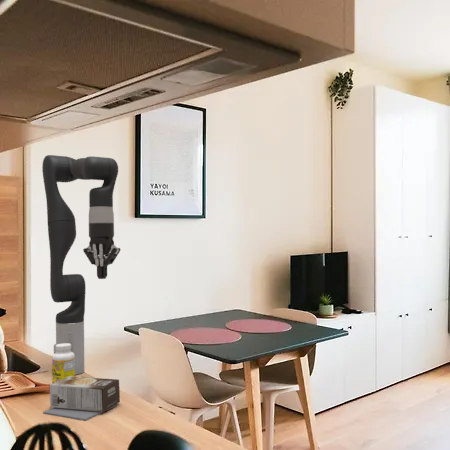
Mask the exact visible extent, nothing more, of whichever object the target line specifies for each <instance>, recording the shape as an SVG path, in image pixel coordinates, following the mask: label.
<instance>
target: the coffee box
mask: <svg viewBox="0 0 450 450" xmlns="http://www.w3.org/2000/svg"><path fill="white" fill-rule="evenodd" d="M120 391H121V390H120V379H114V378H102V377H101V378H100V377H86V376H85V377H83V376H75V377H66V378H64V379H62V380H60V381H57V382H55V383H53V384H52V383H50V384H49V407H50V408H65V409H76V410H87V411H98V412H103V413H105V412H107V411H109V410H110V409H109V408H111V407H113V406H114V405H116V404H119V403H121V400H120V399H121V396H120V393H121V392H120ZM113 408H114V407H113ZM108 409H109V410H108ZM111 409H112V408H111ZM106 410H107V411H106ZM104 411H105V412H104Z"/></svg>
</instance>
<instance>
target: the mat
mask: <svg viewBox="0 0 450 450" xmlns="http://www.w3.org/2000/svg"><path fill="white" fill-rule="evenodd" d="M117 405H118V406H119V403H117V404H116V405H114V406H113V407H111V408H109V409H108V410H106V411H104V412H98V411H87V410H76V409H65V408H53V407H51V408H49V409H47V410H45V411H43V412H42V414H43V415H50V416H56V417H60V418H61V417H62V418H67V419H71V420H72V419H73V420H74V419H75V420H79V421H85V422H86V421H89V420H90V419H92V418H94V417H97V416H99V415H100V414H103V413H105V412H107V411H109V410H111V409H113V408H116V407H118V406H117ZM115 406H116V407H115Z"/></svg>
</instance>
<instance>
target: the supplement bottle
mask: <svg viewBox="0 0 450 450" xmlns="http://www.w3.org/2000/svg"><path fill="white" fill-rule="evenodd" d="M55 349H56V353H55V354H54V353H53V355H52V356H51V357H52V358H51V365H52V367H51V368H52V369H51V372H52V373H51V376H52V377H51V378H52V379H51V380H52V381H51V384H53V383H55V382H57V381H60V380H62V379H64V378H66V377H76V375H75V355H74V353H73V352H71V344H70V343H62V344H57V345H56V346H55Z"/></svg>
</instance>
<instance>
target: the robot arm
mask: <svg viewBox="0 0 450 450" xmlns="http://www.w3.org/2000/svg"><path fill="white" fill-rule="evenodd" d="M41 168H42V178H43V184H44V190H45V198H46V215H47V234H48V242H49V257H50V258H49V259H50V266H49V267H50V270H49V271H50V272H49V273H50V275H49V277H50V279H49V285H50V286H49V287H50V290H49V291H50V296H51V299H52V301H53V302H54V303H57V304H58V303H68V302H69V303H70V302H71V303H70V305H69V306H68V307H67V308H65V309H63V310H61V311H60V312H59V311H58V313H56V314H55V343H54V345H53V355H54V354H55V353H56V349H55V346H56V345H57V344H62V343H70V344H71V352H73V353H74V355H75V376H76V375H77V376H78V375H80V374H83V373H85V311H86V280H85V277H84V276H83V275H82V274H79V273H73V274H71V273H70V274H69V273H68V274H64V273H63V269H64V263H65V260H66V257H67V255H68V253H69V251H70V250H71V248H72V246H73V244H74V242H75V240H76V238H77V225H76V218H75V215H74V212H73V211H72V210H71V209H70V206H69V205H68V204H67V202H66V201H65V200H64V198H63V197H62V195H61V193H60V190H59V187H58V183H70V182H71V183H72V182H74V181H76V180H84V181H85V180H86V181H87V180H88V181H89V180H90V181H91V180H92V181H93V180H94V181H95V180H97V181H103V182H102V184H101V186H98V187H93V188H90V190H89V195H88V197H89V199H88V201H89V203H88V204H89V205H88V206H89V209H88V237H89V239H90V240H89V243H88V244H89V245H88V246H87V247H85V248H83V250H82V251H83V253H84V254H85V256H86V257H87V259H88V261H89V262H90V264H91V265H94V266H95V267H96V276H97V279H99V280H105V279H107V277H108V266H110V265H113V263H114V262H115V260H116V258H117V257H118V255H119V254H120V252H121V248H120V247H117V246H116V245H115V241H114V238H115V237H114V236H115V213H114V198H113V195H114V190H115V187H116V186H115V185H116V182H117V177H118V175H119V166H118V162H117V161H116V160H115V159H114V158H112V157H111V158H110V157H104V156H103V157H102V156H86V157H82V158H81V157H80V158H77V159H76V158H73V157H70V156H66V155H65V156H64V155H53V154H50V155H49V154H47V155H45V156H44V158H43V160H42V167H41Z"/></svg>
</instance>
